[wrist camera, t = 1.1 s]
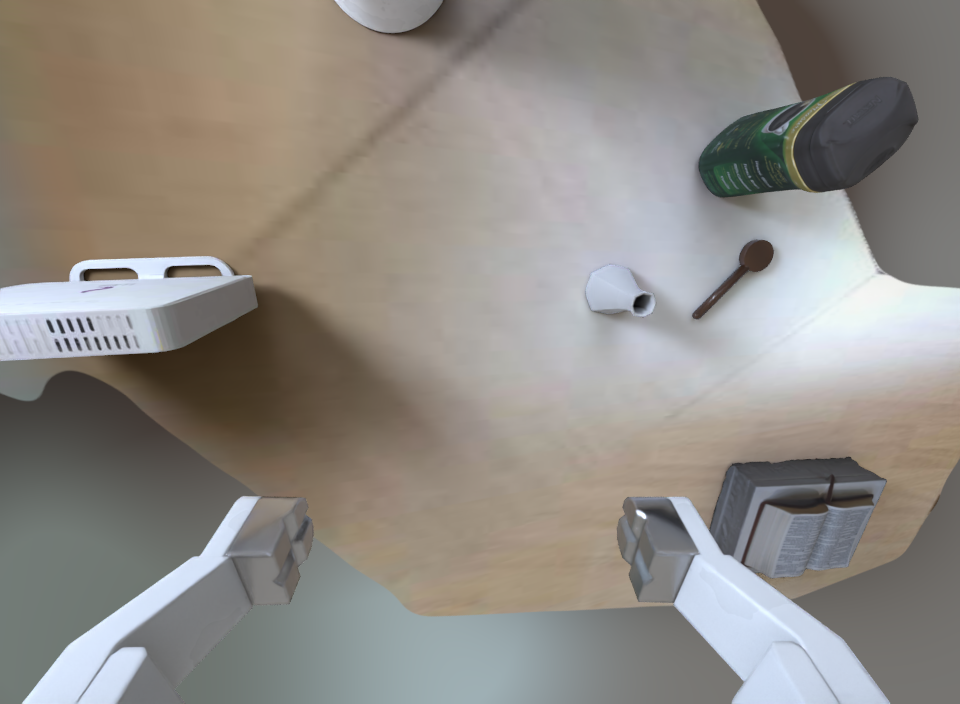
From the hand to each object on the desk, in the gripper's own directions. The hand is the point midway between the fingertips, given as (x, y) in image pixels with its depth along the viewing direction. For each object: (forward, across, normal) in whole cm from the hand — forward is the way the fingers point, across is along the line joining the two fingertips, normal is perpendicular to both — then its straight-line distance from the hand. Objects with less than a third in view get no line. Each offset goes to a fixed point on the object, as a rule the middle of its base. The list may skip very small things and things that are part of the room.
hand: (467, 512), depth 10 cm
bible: (+44, -57, +50) cm, 88 cm away
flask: (+47, -20, +10) cm, 52 cm away
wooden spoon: (+48, -38, +9) cm, 62 cm away
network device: (+42, +39, +10) cm, 58 cm away
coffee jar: (+51, -34, -7) cm, 62 cm away
